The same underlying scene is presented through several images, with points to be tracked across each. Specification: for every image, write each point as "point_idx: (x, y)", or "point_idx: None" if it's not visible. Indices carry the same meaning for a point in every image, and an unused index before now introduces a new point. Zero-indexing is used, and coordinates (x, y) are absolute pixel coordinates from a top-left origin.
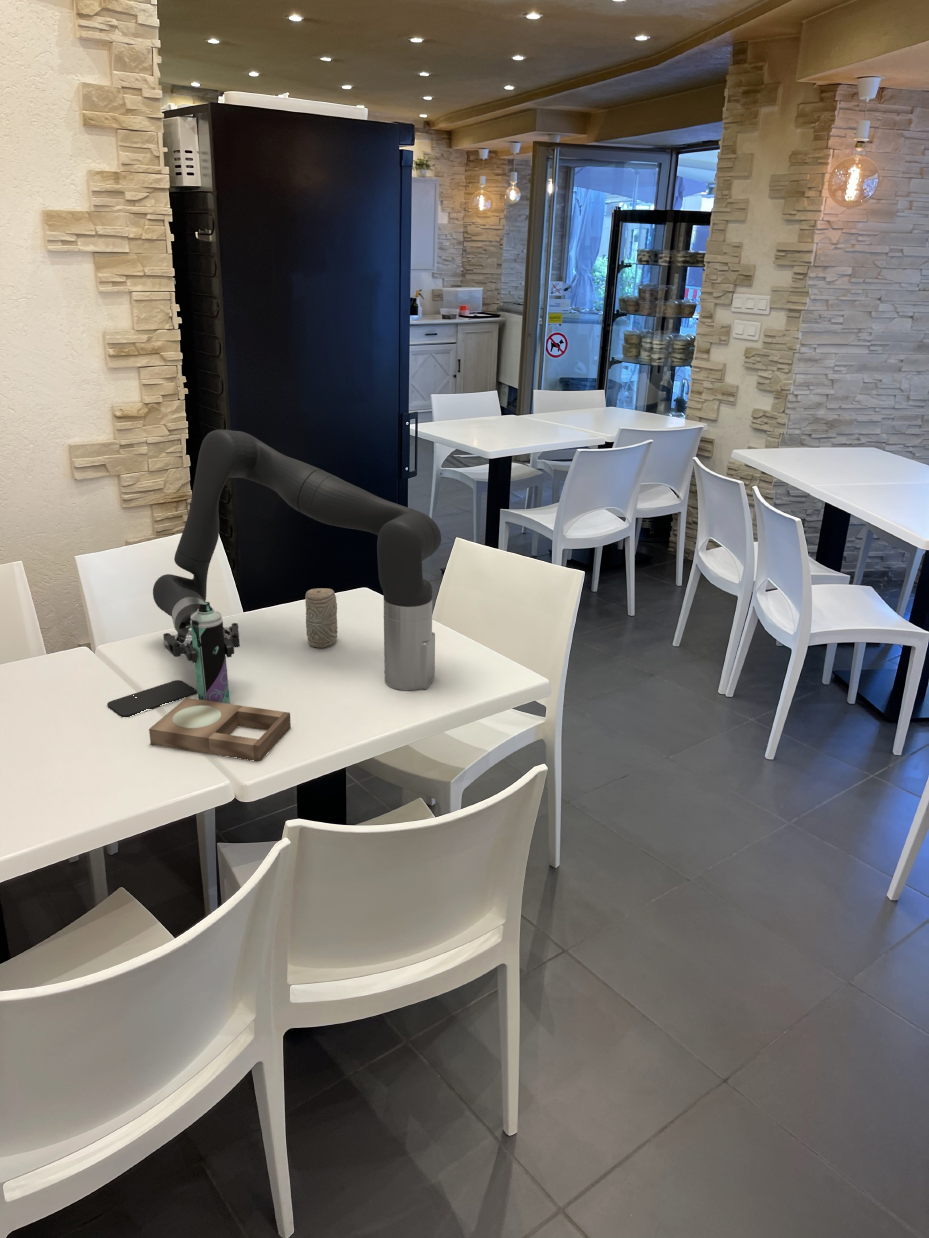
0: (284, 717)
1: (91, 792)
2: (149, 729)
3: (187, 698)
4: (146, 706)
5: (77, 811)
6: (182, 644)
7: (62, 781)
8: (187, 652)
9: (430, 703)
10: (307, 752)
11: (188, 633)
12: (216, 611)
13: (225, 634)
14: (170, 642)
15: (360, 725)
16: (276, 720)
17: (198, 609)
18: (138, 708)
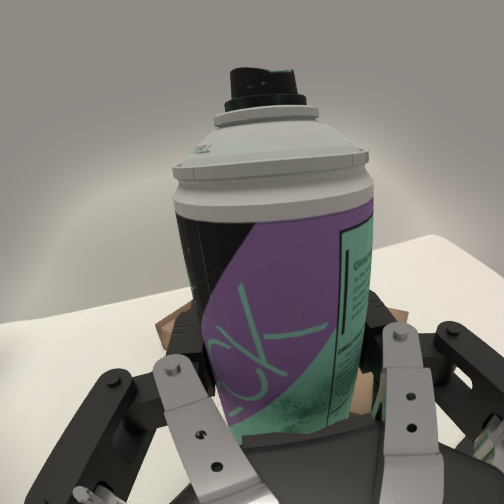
0: (170, 315)
1: (426, 270)
2: (407, 312)
3: (364, 412)
4: (465, 453)
5: (421, 255)
6: (425, 356)
7: (466, 283)
8: (374, 295)
9: (3, 340)
10: (175, 300)
11: (427, 401)
12: (194, 149)
13: (163, 394)
14: (484, 346)
15: (85, 329)
16: (186, 310)
17: (310, 107)
18: None
